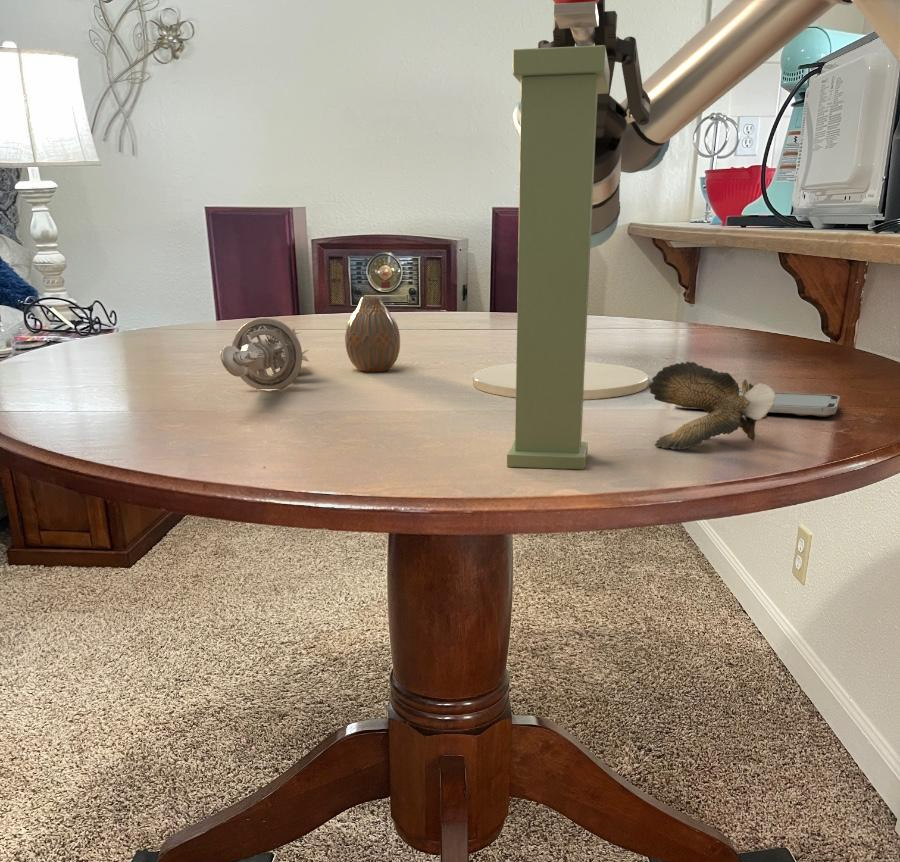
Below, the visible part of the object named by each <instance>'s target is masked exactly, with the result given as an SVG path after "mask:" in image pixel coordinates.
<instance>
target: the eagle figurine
mask: <svg viewBox="0 0 900 862" xmlns="http://www.w3.org/2000/svg"><path fill="white" fill-rule="evenodd" d="M651 380H652V381H651V382H650V383H648V386H647V389H648V390H649V389H650V390H649V393H650V394H651V395H654V397H653V399H654V400H656V401H659V402H661V403H666V404H670V405H674V404H675V405H679V406H682V407H688V408H687V409H697V408H699V410H703V411H705V412H706V413H707V414H706V415H703V416H701V417H698V418H696V419H692V420H690V421H688V422H686V423H683V424H681V426H679V427H678V428H677V429H675V430H674V431H673V432H671V433H668V434H665V435H662V436H660V437H658V439H657V440H656V441H655V442H656V443H654V446H655V447H656V448H662V449H670V448H671V450H675V449H678V450H684V449H688V448H692V447H694V446H696V445H700V444H702V442H705V441H708V440H710V439H711V438H714V437H716V436H720V435H730V434H731V433H733V432H735V431H737V430H739V428H741V430H742V431H743V433H745V434H746V435H747V438H748V439H749V440H751V441H752V442H754V441H755V439H756V433H755V432H756V431H755V430H756V429H755V428H756V422H757V421H760V420H766V419H768V415H767V414H768V413H770V412H769V411H770V410H771V409H772V408H773V405H774V401H775V398H776V397H775V392H776V391H774V389H773V388H772V387H771V386H769V385H768V384H765V383H763V382H759V383H756V384H755V385H753V384H752V383H748V380H747V379H742V382H741V391H743V396H739V391H740V387H739V383H738V382H737V381H736V380H735V379H734V377H733V376H732V375H731V374H730V373H729V372H723V371H721V372H719V371H718V370H713V369H712V368H708V367H704V366H702V365H698V363H696V362H695V361H691V362H690V361H686V362H680V363H675V364H670V365H669V366H663V367H662V370H659V371H658V372H657V373H656V375H654V376H653V377H652V378H651Z"/></svg>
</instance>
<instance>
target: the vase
mask: <svg viewBox="0 0 900 862" xmlns="http://www.w3.org/2000/svg"><path fill="white" fill-rule="evenodd" d="M344 344H345V350H346V353H347V357H348V359H349V361H350V363H351V364H352V365H353V366H354V367H355V368H356V369H357V370H358V371H360V372H366V373H367V372H369V373H373V372H374V373H376V372H385V371H389V370H390V369H392V367H393V366H394V365H395V364H396V362H397V360H398V358H399V354H400V349H401V335H400V330H399V325H398V323H397V321H396V319H395V318H394V316H393V315H392V314H391V312H390V311H389V310H388V309H387V307H386V306H385V304H384V302H383V299H382V297H380V296H377V295H375V296H373V295H370V296H361V298H360V300H359V302H358V305H357V307H356V309H355V310H354V311H353V312H352V314H351V316H350V318H349V319H348V321H347V324H346V328H345V334H344Z"/></svg>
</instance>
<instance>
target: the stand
mask: <svg viewBox="0 0 900 862" xmlns="http://www.w3.org/2000/svg"><path fill="white" fill-rule="evenodd" d="M512 75H513V77H514V78H515V79H516V80H517V81H518V83H520V99H521V118H520V137H519V180H518V181H519V183H518V184H519V187H518V239H517V242H518V245H517V299H516V301H517V302H516V303H517V304H516V305H517V306H516V308H517V309H516V310H517V311H516V358H515V359H516V361H515V363H516V397H515V417H514V418H515V419H514V420H515V423H514V424H515V425H514V428H515V429H514V440H513V442H512V444H511V446H510V448H509V450H508V452H507V454H506V468H507V467H508V468H529V469H530V468H531V469H557V470H585V469H586V463H587V457H588V451H589V450H588V449H589V442H588V441H582V436H583V435H582V434H583V433H582V432H583V413H584V400H583V394H584V373H585V362H586V352H587V351H586V350H587V348H586V347H587V329H588V328H587V327H588V307H589V306H588V305H589V287H590V285H589V284H590V267H591V266H590V264H591V248H590V245H591V223H592V202H593V181H594V159H595V138H596V117H597V96H598V94H605V93H609V78H610V71H609V65H608V59H607V53H606V47H605V45H598V46H576V45H575V47H555V48H538V47H535V48H516V49H513V50H512Z"/></svg>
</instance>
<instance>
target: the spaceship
mask: <svg viewBox="0 0 900 862" xmlns="http://www.w3.org/2000/svg"><path fill="white" fill-rule="evenodd" d="M301 333H302V332H300V334H301ZM298 334H299V332H296V330H295V327H293V328H291V327H289V326H288V325H287V324H285V323H284V322H282V321H280V320H279V319H276V318H272V317H257V318H253V319H251V320H249V321H247V322H246V323H244V324H243V325H242V326H241V327H240V328H239V329H238V330H237V332H236V333H235V335H234V338H233V340H232V344H231V345H226V346H224V347H222V349H221V350H220V352H219V354H220V355H219V358H220V361H221V363H222V366H223V368H224V369H225V370H226V371H227V372H228V373H229V374H230V375H231V376H234V377H237V378H240V379H241V380H242V381H243V382H244V383H245V384H246V385H248V386H250V387H251V388H253V389H255V388H256V389H255V390H258V389H280V390H283V389H285V388H287V387H288V386H290V384H292V383H293V382H294V380H296V378H297V377H298V375H299V373H300V371H301V367H302V364H303V361H305V362H310V360H309V358H308V357H307V356H306V355H305V354H306V353H307V352H308V349H305V350H304V351H303V350H302V349H303V348H302V346H301V343H300V340H299V338H298V336H297V335H298ZM261 336H265V337H266V338H263V339H262V338H261ZM255 338H256V339H257V342H256V341H253V340H254V339H255ZM278 369H279V370H278ZM268 370H269V371H272V373H273V374H268V372H267V371H268ZM276 370H278V371H276Z"/></svg>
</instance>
